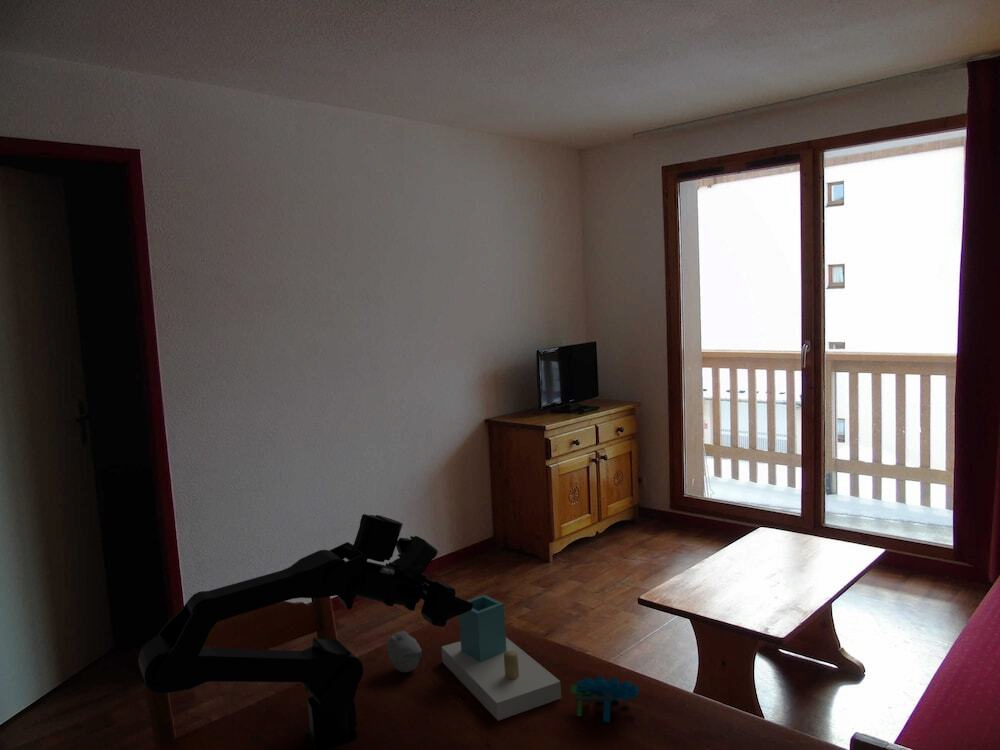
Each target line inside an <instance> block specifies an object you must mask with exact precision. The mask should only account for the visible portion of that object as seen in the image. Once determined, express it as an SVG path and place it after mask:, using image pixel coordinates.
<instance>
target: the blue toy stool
mask: <svg viewBox="0 0 1000 750" xmlns="http://www.w3.org/2000/svg"><path fill="white" fill-rule="evenodd" d="M569 691H570V692H569V693H570V694H571V695H574V696H575V699H574V700H575V701H576V702H577V715H576V716H577V717H580V718H582V717H583V703H603V715H602V718H603V719H602V722H603V723H607V724H609V723H610V722H611V703H613V702H620V699H622V700H624V701H631V700H632V698H633V699H634V698H638V697H639V695H638V694H639V693H640V688H639V686H637V685H633V683H632V682H631V681H628V680H624V681H623V682H622V683H619V678H616V677H610V678H609V680H606V679H605V678H604V677H603V676H595V678H594V679H592V678H589V677H587V676H586V677H584V678H583V680H577V683H576V684H573V683H572V684H570V690H569ZM593 695H597V696H593Z"/></svg>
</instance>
